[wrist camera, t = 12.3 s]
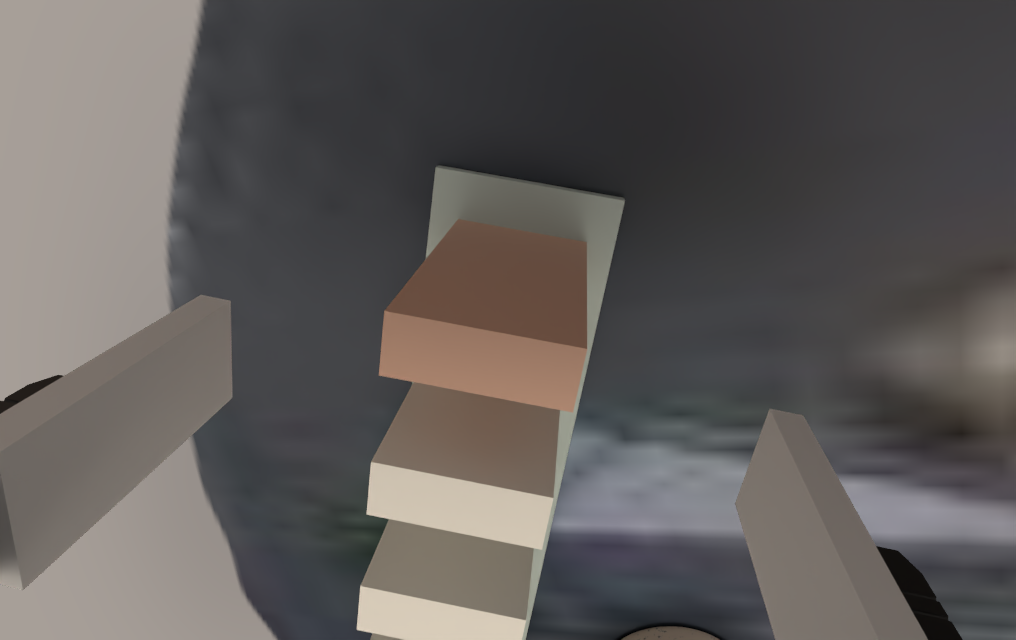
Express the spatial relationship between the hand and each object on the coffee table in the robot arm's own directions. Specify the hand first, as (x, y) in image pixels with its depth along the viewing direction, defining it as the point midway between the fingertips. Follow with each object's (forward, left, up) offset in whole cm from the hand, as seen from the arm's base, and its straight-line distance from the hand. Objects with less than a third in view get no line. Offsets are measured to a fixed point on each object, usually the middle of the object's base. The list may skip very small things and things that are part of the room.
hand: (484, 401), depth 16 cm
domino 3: (+10, 0, -13) cm, 17 cm away
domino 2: (+5, 0, -13) cm, 14 cm away
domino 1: (0, 0, -13) cm, 13 cm away
